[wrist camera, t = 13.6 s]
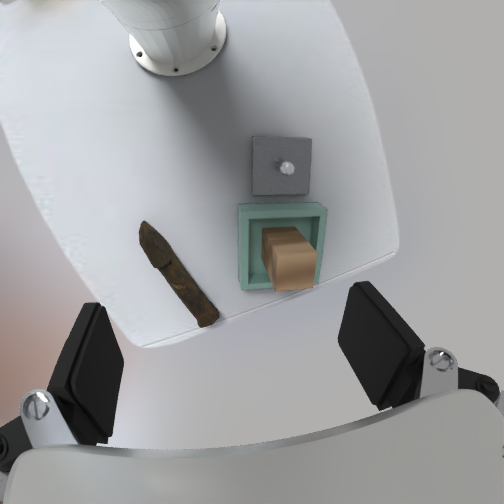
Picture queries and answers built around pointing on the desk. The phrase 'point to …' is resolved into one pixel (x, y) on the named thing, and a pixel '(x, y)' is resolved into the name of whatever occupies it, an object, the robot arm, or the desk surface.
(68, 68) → the desk surface
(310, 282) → the brown wooden block
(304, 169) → the stud base
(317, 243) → the bin
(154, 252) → the hand tool
